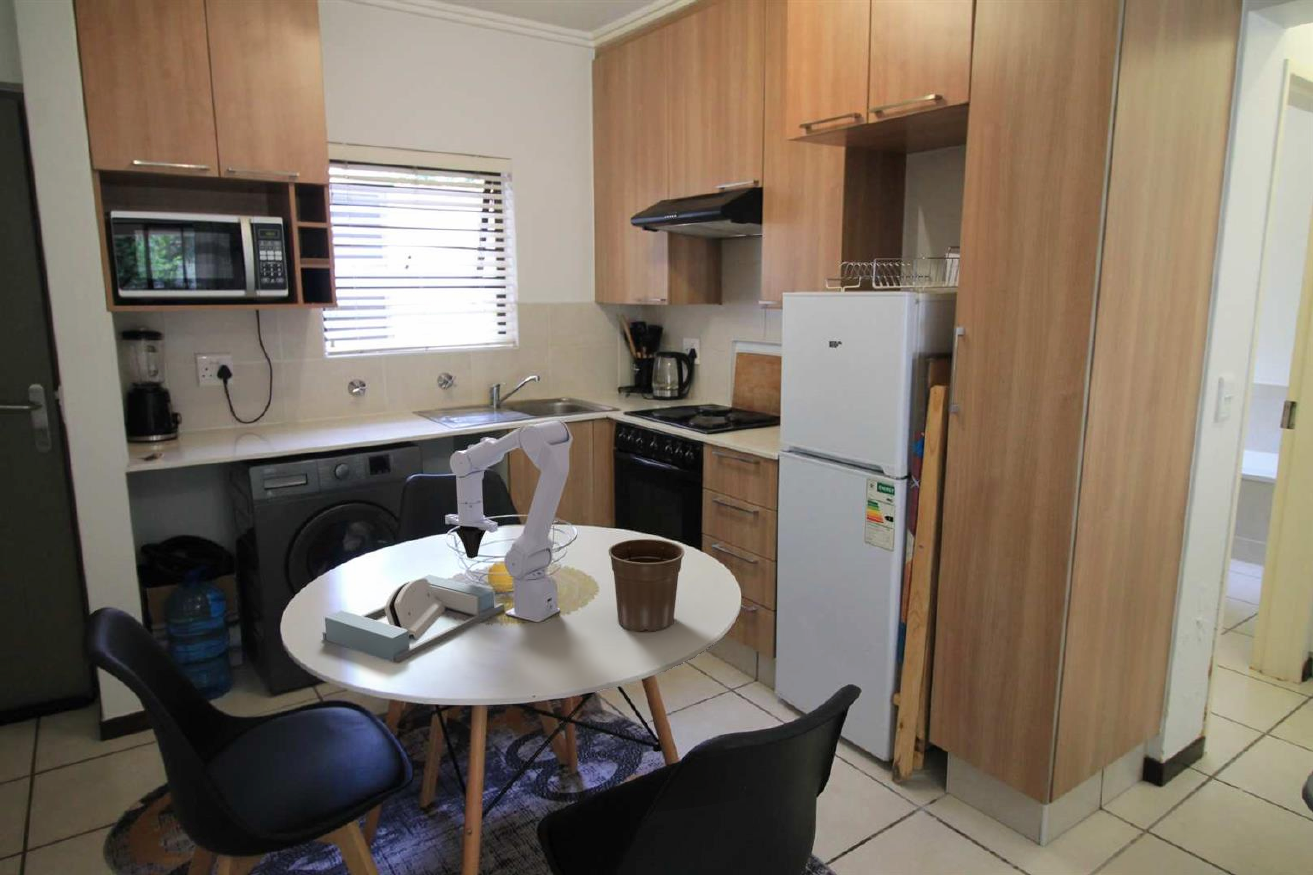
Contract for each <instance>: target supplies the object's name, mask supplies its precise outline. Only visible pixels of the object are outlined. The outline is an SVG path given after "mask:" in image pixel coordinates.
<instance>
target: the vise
mask: <svg viewBox="0 0 1313 875" xmlns="http://www.w3.org/2000/svg"><path fill="white" fill-rule="evenodd" d="M504 611H505V603H498V604H497V605H494V607H492V608H490V609H488V610H486V611H484V612H482V613H480V614H478V615H476V616H473V617H470V618H468V619H466V620H463V621H462V622H459V623H458V624H456V625H454V626H452V627H450V628H448V629H445V630H444V631H442V632H440V633H438V634H436V635H434V636H431V637H429V638H428V639H425V640H423V641H421V642H420V643H416V644H415V645H413V646H411V647H410V637H409V636H410V635H409V632H408V630H406V629H403V628H400V627H396V626H393V625H390V624H389V623H387V622H383V621H378V620H376V619H377V618H379V617H382V616H384V615H386V613H385V605H384V606H382V607H379V608H377V609H374V610H372V611H369V612H368V613H365V614H362V615H360V614H355V613H352V612H349V611H344V610H339V611H337V612H334V613H331V614H329V615H326V616H325V617H324V626H325V630H324V631H322V638H323V639H322V640H325V639H326V641H329V642H331V643H334V642H335V643H334V644H338V645H341V646H343V647H347V648H349V649H352V650H356V651H358V652H362V653H365V654H367V655H370V656H373V657H376V658H379V659H383V660H385V661H387V662H391V663H395V664H400V663H403V662H404V661H406V660H408V659H411V658H412V657H414V656H416V655H418V654H420V653H422V652H424V651H426V650H428V649H430V648H432V647H434V646H436V645H438V644H440V643H441V642H444V641H446V640H448V639H450V638H452V637H454V636H456V635H457V634H460V633H462V632H464V631H466V630H468V629H470V628H471V627H473V626H475V625H478V624H480V623H482V622H484V621H486V620H487V619H490V618H491V617H493V616H495V615H497V614H499V613H501V612H504Z"/></svg>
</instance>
